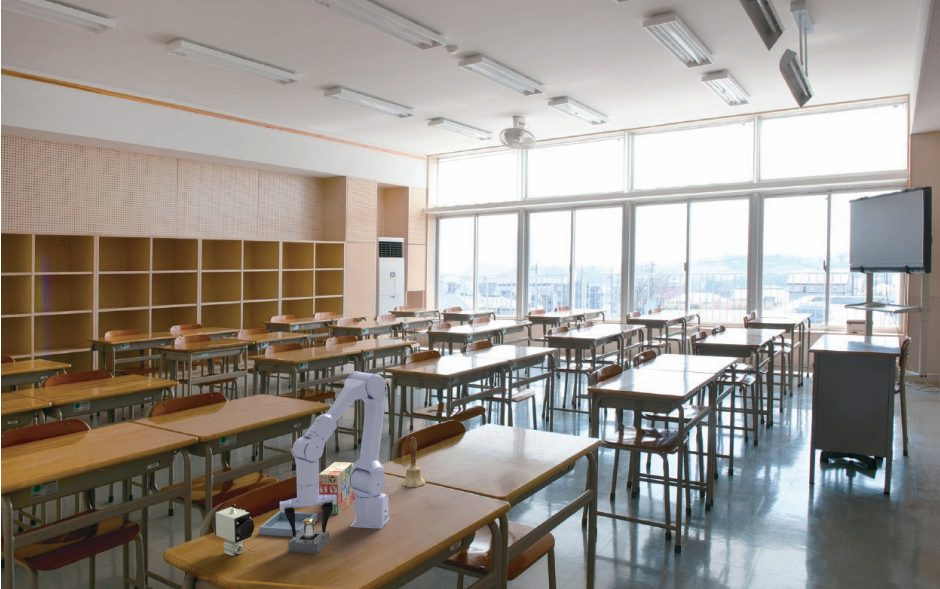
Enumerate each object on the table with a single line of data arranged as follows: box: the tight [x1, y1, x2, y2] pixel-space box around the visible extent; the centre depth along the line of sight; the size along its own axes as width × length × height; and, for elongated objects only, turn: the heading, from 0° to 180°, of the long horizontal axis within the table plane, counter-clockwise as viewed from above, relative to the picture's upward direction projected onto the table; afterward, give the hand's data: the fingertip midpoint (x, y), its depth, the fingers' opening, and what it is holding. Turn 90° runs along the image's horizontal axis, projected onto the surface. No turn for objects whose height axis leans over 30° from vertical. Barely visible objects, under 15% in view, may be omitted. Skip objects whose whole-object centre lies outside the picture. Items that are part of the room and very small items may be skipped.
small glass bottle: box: [303, 518, 315, 540], centre depth 173 cm, size 3×3×7 cm
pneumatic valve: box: [211, 506, 255, 556], centre depth 171 cm, size 6×12×12 cm, turn 57°
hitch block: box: [287, 530, 330, 554], centre depth 174 cm, size 8×8×3 cm
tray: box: [258, 510, 319, 538], centre depth 186 cm, size 12×12×2 cm
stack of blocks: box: [318, 461, 355, 515], centre depth 208 cm, size 21×6×12 cm, turn 169°
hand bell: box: [401, 436, 426, 488], centre depth 224 cm, size 8×8×16 cm
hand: (309, 533), depth 173 cm, fingers open, 7 cm apart
